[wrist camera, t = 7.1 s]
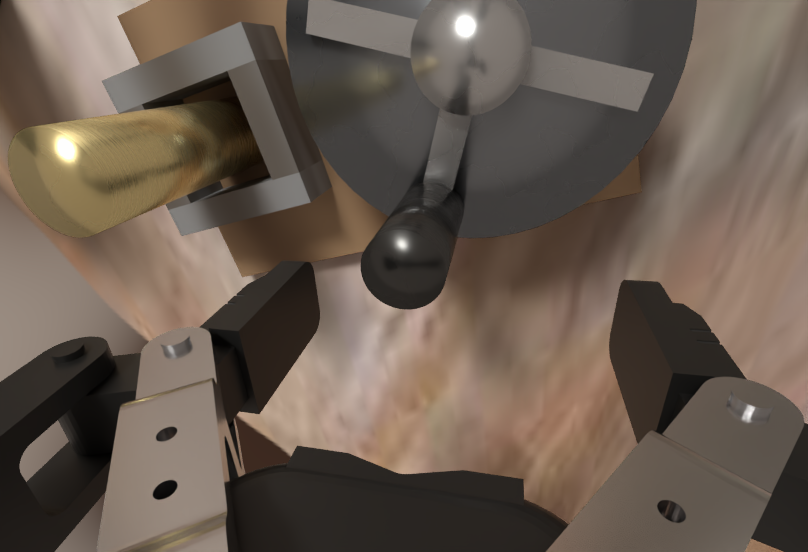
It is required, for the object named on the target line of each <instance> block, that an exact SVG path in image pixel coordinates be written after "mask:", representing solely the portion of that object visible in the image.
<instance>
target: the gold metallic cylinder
mask: <svg viewBox="0 0 808 552" xmlns="http://www.w3.org/2000/svg"><path fill="white" fill-rule="evenodd" d="M263 160H264V159H263V156H262V154H261V152H260V149H259V147H258V144H257V142H256V139H255V137H254V135H253V132H252V130H251V127H250V125H249V122H248V120H247V118H246V115H245V113H244V110H243V108H242V105H241V103H240V101H239V98H238V97H230V98H223V99H216V100H209V101H203V102H196V103H189V104H182V105H175V106H169V107H162V108H155V109H148V110H141V111H134V112H128V113H121V114H114V115H107V116H100V117H94V118H87V119H80V120H73V121H66V122H60V123H53V124H46V125H39V126H32V127H28V128H25V129H23V130H21V131H19V132H18V133H17V134H16V135H15V136H14V138H13V139H12V141H11V143H10V146H9V150H8V165H9V171H10V175H11V178H12V181H13V183H14V186H15V188H16V190H17V192H18V193H19V195H20V197H21V198H22V200H23V201H24V203H25V204H26V205H27V207H28V208H29V209H30V210H31V211H32V212H33V213H34V214H35V216H36V217H38V218H39V219H40V220H41V221H42V222H43V223H45V224H46V225H47V226H49V227H51V228H52V229H54V230H56V231H58V232H60V233H62V234H65V235H67V236H71V237H78V238H85V237H90V236H92V235H95V234H97V233H100V232H102V231H104V230H107V229H109V228H111V227H114V226H116V225H118V224H121V223H123V222H125V221H127V220H130V219H132V218H134V217H137V216H139V215H141V214H144V213H146V212H148V211H151V210H153V209H155V208H158V207H160V206H162V205H165V204H167V203H169V202H172V201H174V200H176V199H179V198H181V197H183V196H185V195H188V194H190V193H192V192H195V191H197V190H199V189H202V188H204V187H206V186H209V185H211V184H213V183H216V182H218V181H220V180H223V179H225V178H227V177H230V176H232V175H234V174H237V173H239V172H241V171H243V170H246V169H248V168H250V167H253V166H255V165H257V164H259V163H261V162H262V161H263Z"/></svg>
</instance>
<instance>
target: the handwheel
mask: <svg viewBox="0 0 808 552" xmlns="http://www.w3.org/2000/svg"><path fill="white" fill-rule="evenodd" d="M696 2H697V0H287V7H286V43H287V53H288V64H289V69H290V74H291V78H292V83H293V88H294V92H295V95H296V98H297V101H298V104H299V107H300V110H301V113H302V116H303V118H304V120H305V122H306V125H307V127H308V129H309V131H310V134H311V136H312V137H313V139H314V141H315V143H316V144H317V146H318V148H319V149H320V151H321V153H322V154H323V156H324V157H325V159H326V160H327V161H328V163H329V164H330V165H331V167H332V168H333V169H334V171H335V172H336V173H337V175H338V176H339V177H340V178H341V179H342V180H343V181H344V182H345V183H346V184H347V185H348V186H349V187H350V188H351V189H352V190H353V191H354V192H355V193H356V194H358V195H359V196H360V197H361V198H363V199H364V200H365V201H366V202H367V203H369V204H370V205H371V206H373V207H375V208H376V209H378V210H379V211H381V212H382V213H384V214H386V215H387V216H389V217H388V218H387V220H386V221H385V222H384V224H383V225H382V226H381V228H380V229H379V231H378V232H377V233H376V235H375V236H374V237H373V239H372V240H371V241H370V243H369V244H368V245H367V247H366V249H365V250H364V253H363V255H362V259H361V273H362V277H363V280H364V282H365V285H366V286H367V288H368V289H369V291H370V292H371V293H372V294H373V295H374V296H375V297H376V298H377V299H379V300H380V301H381V302H383V303H385V304H387V305H389V306H391V307H394V308H399V309H416V308H420V307H423V306H426V305H427V304H429V303H431V302H432V301H433V300H435V299H436V298H437V297H438V295H439V294H440V293H441V291H442V289H443V287H444V284H445V281H446V277H447V273H448V270H449V266H450V262H451V259H452V255H453V252H454V248H455V244H456V241H457V237H462V238H486V237H497V236H503V235H509V234H515V233H518V232H522V231H525V230H529V229H532V228H536V227H538V226H541V225H543V224H546V223H548V222H550V221H553V220H555V219H557V218H560V217H561V216H563V215H565V214H567V213H569V212H570V211H572V210H574V209H576V208H577V207H579V206H581V205H582V204H584V203H585V202H586V201H588V200H589V199H591V198H592V197H593V196H595V195H596V194H598V193H599V192H600V191H602V190H603V189H604V188H605V187H606V186H607V185H608V184H609V183H610V182H612V181H613V180H614V179H615V178H616V177H617V176H618V175H619V174H620V173H621V172H622V171H623V170H624V169H625V168H626V167H627V166H628V165H629V163H630V162H631V161H632V160H633V159H634V158H635V157H636V155H637V154H638V153H639V152H640V151H641V149H642V148H643V147H644V145H645V144H646V142H647V141H648V139H649V138H650V136H651V135H652V134H653V132H654V131H655V129H656V128H657V126H658V124H659V123H660V121H661V119H662V117H663V115H664V113H665V111H666V109H667V108H668V106H669V104H670V102H671V100H672V98H673V95H674V93H675V90H676V88H677V85H678V83H679V80H680V78H681V75H682V73H683V70H684V66H685V63H686V59H687V55H688V51H689V47H690V44H691V40H692V34H693V27H694V20H695V12H696Z"/></svg>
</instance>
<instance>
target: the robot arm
mask: <svg viewBox="0 0 808 552" xmlns="http://www.w3.org/2000/svg"><path fill="white" fill-rule="evenodd" d="M319 320H320V310H319V303H318V296H317V289H316V283H315V276H314V270H313V267H312V265H311V263H310V262H302V261H281V262H280V263H279V264H278V265H277V266H276V267H274V268H273V269H272V270H271V271H270V272H269V273H268V274H267V275H266V276H263V277H261V278H259V279H257V280H255V281H253V282H251V283H249V284H247V285H246V286H245V287H244V288H243V289H242V290H241V291H240V292H239V293H237V296H234V297H233V298H232V299H231V300H230V301H228V304H225V305H224V306H223V307H222V308H221V309H219V310H218V311H217V312H216V313H215V314H214V315H213V316H212V317H210V318H209V319H208V320H207V321H206V322H205V323H204V324H203V325H201V326H200V327H185V328H179V329H175V330H171V331H168V332H166V333H163V334H161V335H159V336H157V337H156V338H154V339H153V340H151V341H150V342H149V343H147V344H146V345H145V347H144V348H143V350H142V352H141V353H136V354H128V355H118V356H113V355H112V353H111V350H110V348H109V345H108V343H107V341H106V340H105V339H103V338H100V337H83V338H78V339H73V340H70V341H67V342H64V343H61V344H58V345H56V346H54V347H52V348H50V349H48V350H47V351H45V352H43V353H42V354H40V355H39V356H37V357H36V358H34V359H33V360H32V361H30V362H29V363H28V364H26V365H24V366H23V367H21V368H20V369H19V370H17V371H16V372H14V373H13V374H11V375H10V376H8V377H7V378H6V379H4V380H3V381H1V382H0V552H55V550H56V549H57V548H58V547H59V546H60V544H61V543H62V542H63V541H64V540H65V539H66V537H67V536H68V535H69V534H70V533H71V531H72V530H73V529H74V528H75V527H76V525H77V524H78V523H79V522H80V521H81V520H82V519H83V517H84V516H85V515H86V514H87V513H88V512H89V510H90V509H91V508H92V507H93V506H94V504H95V503H96V502H97V501H98V500H99V499H100V497H101V496H102V495H103V494H104V493H105V492H106V495H105V501H104V508H103V514H102V520H101V526H100V532H99V538H98V544H97V550H96V552H745V550H746V548H747V546H748V543H749V541H750V539H751V538H752V539H754V540H757V541H759V542H761V543H764V544H766V545H769V546H771V547H774V548H776V549H779V550H781V551H784V552H808V424H806V423H804V417H803V415H802V413H801V412H800V410H799V409H798V407H796V406H795V405H794V404H793V403H792V402H791V401H790V400H789V399H787V398H786V397H785V396H783V395H782V394H780V393H779V392H777V391H775V390H773V389H771V388H769V387H767V386H764V385H762V384H759V383H756V382H754V381H750V380H747V379H746V378H745V376H744V375H743V374H742V372H741V371H740V369H739V368H738V367H737V365H736V364H735V362H734V361H733V360H732V358H731V357H730V355H729V354H728V353H727V351H726V350H725V348H724V347H723V346H722V345H720V341H719V340H718V339H717V337H716V336H715V335H714V333H711V329H710V328H709V326H708V325H707V323H706V322H705V321H704V319H703V318H702V316H700V315H699V314H697V313H696V312H694V311H693V310H691V309H690V308H689V307H687V306H686V305H684V304H680V303H672V301H671V300H670V298H669V296H668V295H667V293H666V292H665V290H664V289H663V287H662V285H661V284H660V283H659V282H652V281H634V280H623V282H622V283H621V285H620V289H619V293H618V298H617V303H616V308H615V313H614V318H613V323H612V328H611V333H610V341H609V351H610V359H611V362H612V365H613V369H614V372H615V375H616V378H617V381H618V384H619V387H620V390H621V393H622V397H623V400H624V403H625V406H626V409H627V412H628V415H629V418H630V421H631V424H632V428H633V431H634V434H635V437H636V440H637V443H638V445H637V446H636V447H635V448H634V449H633V450H632V452H631V453H630V454H629V455H628V456H627V457H626V459H625V460H624V461H623V462H622V463H621V464H620V466H619V467H618V468H617V469H616V470H615V471H614V473H613V474H612V475H611V476H610V477H609V478H608V480H607V481H606V482H605V483H604V484H603V485H602V487H601V488H600V489H599V490H598V491H597V493H596V494H595V495H594V496H593V497H592V498H591V500H590V501H589V502H588V503H587V504H586V505H585V507H584V508H583V509H582V510H581V511H580V512H579V514H578V515H577V516H576V517H575V518H574V519H573V521H572V522H571V523H570V524H569V525H568V524H567V523H566V522H565V521H563V520H562V519H560V518H559V517H557V516H556V515H554V514H553V513H551V512H550V511H548V510H546V509H544V508H542V507H540V506H538V505H536V504H534V503H532V502H529V501H527V500H524V487H523V479H518V478H511V477H504V476H498V475H491V474H484V473H477V472H471V471H464V470H461V471H447V472H433V473H419V474H398V473H395V472H393V471H390V470H388V469H385V468H383V467H381V466H378V465H376V464H373V463H371V462H368V461H366V460H363V459H361V458H359V457H356V456H354V455H351V454H349V453H343V452H336V451H329V450H323V449H316V448H309V447H302V446H297V447H296V449H295V451H294V453H293V455H292V456H291V458H290V460H289V462H288V463H286V464H278V465H273V466H268V467H264V468H261V469H257V470H255V471H252V472H249V473H247V474H245V472H244V466H243V460H242V454H241V449H240V442H239V436H238V431H237V426H236V423H235V419H234V418H235V416H236V415H237V414H238V412H239V411H240V412H248V413H255V414H260V412H261V411H262V410H263V408H264V407H265V405H266V404H267V402H268V401H269V399H270V398H271V397H272V395H273V394H274V392H275V391H276V389H277V388H278V386H279V385H280V383H281V382H282V381H283V379H284V378H285V376H286V375H287V373H288V372H289V370H290V369H291V368H292V366H293V365H294V363H295V362H296V360H297V359H298V357H299V356H300V355H301V353H302V352H303V350H304V349H305V347H306V346H307V344H308V343H309V342H310V340H311V339H312V337H313V336H314V334H315V333H316V331H317V328H318V325H319ZM57 420H58V421H59V423H60V425H61V427H62V428H63V431H64V432H65V434H66V436H67V438H68V440H69V442H68V443H67V444H66V445H65V446H64V447H63V448H62V449H61V450H60V451H59V452H57V453H56V454H55V455H54V456H53V457H52V458H51V459H50V460H49V461H48V462H47V463H46V464H45V465H44V466H43V467H42V468H41V469H40V470H39V471H38V472H36V474H34V475H33V476H32V477H31V478H30V479H29V480H28V481H27V482H26V481H25V480H24V478H23V477H22V475H21V473H20V469H19V464H20V459H21V457H22V454H23V452H24V451H25V449H26V448H27V447H28V446H29V445H30V444H31V443H32V442H33V441H34V440H35V439H36V438H38V437H39V436H40V435H41V434H42V433H43V432H44V431H46V430H47V429H48V428H49V427H50V426H51V425H52V424H54V423H55V422H56V421H57Z"/></svg>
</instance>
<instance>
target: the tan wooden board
mask: <svg viewBox="0 0 808 552" xmlns="http://www.w3.org/2000/svg"><path fill="white" fill-rule="evenodd" d="M286 7H287V0H150V1H148V2H146V3H144V4H142V5H140V6H138V7H136V8H133V9H131V10H129V11H127V12H125V13H123V14H121V15H119V16H117V17H118V19H119V21H120V23H121V25H122V27H123V29H124V31H125V33H126V35H127V38H128V40H129V42H130V44H131V46H132V48H133V50H134V52H135V54H136V56H137V58H138V60H139V63H140V65H138V66H136V67H133V68H131V69H129V70H126V71H124V72H122V73H119V74H117V75H115V76H112V77H110V78H108V79H105V80H103V81H102V83H103V85H104V86H105V88H106V90H107V92H108V94H109V96H110V98H111V100H112V102H113V104H114V106H115V108H116V110H117V112H118V114H121V113H128V112H134V111H141V110H148V109H155V108H162V107H169V106H175V105H182V104H189V103H196V102H203V101H209V100H216V99H223V98H230V97H238V98H239V101H240V103H241V105H242V108H243V110H244V113H245V115H246V118H247V120H248V122H249V125H250V127H251V130H252V132H253V135H254V137H255V139H256V142H257V144H258V147H259V149H260V152H261V154H262V156H263V159H264V160H263V161H262V162H261V163H259V164H257V165H255V166H253V167H250V168H248V169H246V170H243V171H241V172H239V173H237V174H234V175H232V176H230V177H227V178H225V179H223V180H220V181H218V182H216V183H213V184H211V185H209V186H206V187H204V188H202V189H199V190H197V191H195V192H192V193H190V194H188V195H185V196H183V197H181V198H179V199H176V200H174V201H172V202H169V203H167V204H166V206H167V208H168V210H169V212H170V214H171V216H172V218H173V220H174V222H175V224H176V226H177V228H178V230H179V231H180V233H181V235H182V236H184V235H188V234H191V233H195V232H199V231H203V230H207V229H211V228H214V227H219V229H220V231H221V234H222V236H223V238H224V240H225V242H226V244H227V246H228V248H229V250H230V252H231V254H232V257H233V259H234V261H235V263H236V265H237V267H238V269H239V271H240V273H241V275H242V277H245V276H249V275H254V274H259V273H264V272H268V271H271V270H272V269H273V268H274V267H276V266H277V265H278V264H279V263H280V262H281V261H302V262H310V263H311V262H315V261H320V260H325V259H329V258H334V257H339V256H344V255H348V254H353V253H358V252H362V251H364V250H365V249H366V247H367V245H368V244H369V243H370V241H371V240H372V239H373V237H374V236H375V235H376V233H377V232H378V231H379V229H380V228H381V226H382V225H383V224H384V222H385V221H386V220H387V218H388V217H389V216H387V215H386V214H384V213H382V212H381V211H379V210H378V209H376V208H375V207H373V206H371V205H370V204H369V203H367V202H366V201H365V200H364V199H363V198H361V197H360V196H359V195H358V194H356V193H355V192H354V191H353V190H352V189H351V188H350V187H349V186H348V185H347V184H346V183H345V182H344V181H343V180H342V179H341V178H340V177H339V176H338V175H337V173H336V172H335V171H334V169H333V168H332V167H331V165H330V164H329V163H328V161H327V160H326V159H325V157H324V156H323V154H322V153H321V151H320V149H319V148H318V146H317V144H316V143H315V141H314V139H313V137H312V136H311V134H310V131H309V129H308V127H307V125H306V122H305V120H304V118H303V116H302V113H301V110H300V107H299V104H298V101H297V98H296V95H295V92H294V88H293V83H292V78H291V74H290V69H289V64H288V53H287V43H286ZM641 192H642V191H641V180H640V169H639V158H638V154H637V155H636V157H635V158H634V159H633V160H632V161H631V162H630V163H629V165H628V166H627V167H626V168H625V169H624V170H623V171H622V172H621V173H620V174H619V175H618V176H617V177H616V178H615V179H614V180H613V181H612V182H610V183H609V184H608V185H607V186H606V187H605V188H604V189H603V190H602V191H600V192H599V193H598V194H596V195H595V196H593V197H592V198H591V199H589V200H588V201H586V202H585V203H584V204H589V203H593V202H598V201H603V200H608V199H612V198H617V197H622V196H626V195H631V194H636V193H641ZM584 204H582V205H584Z"/></svg>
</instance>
